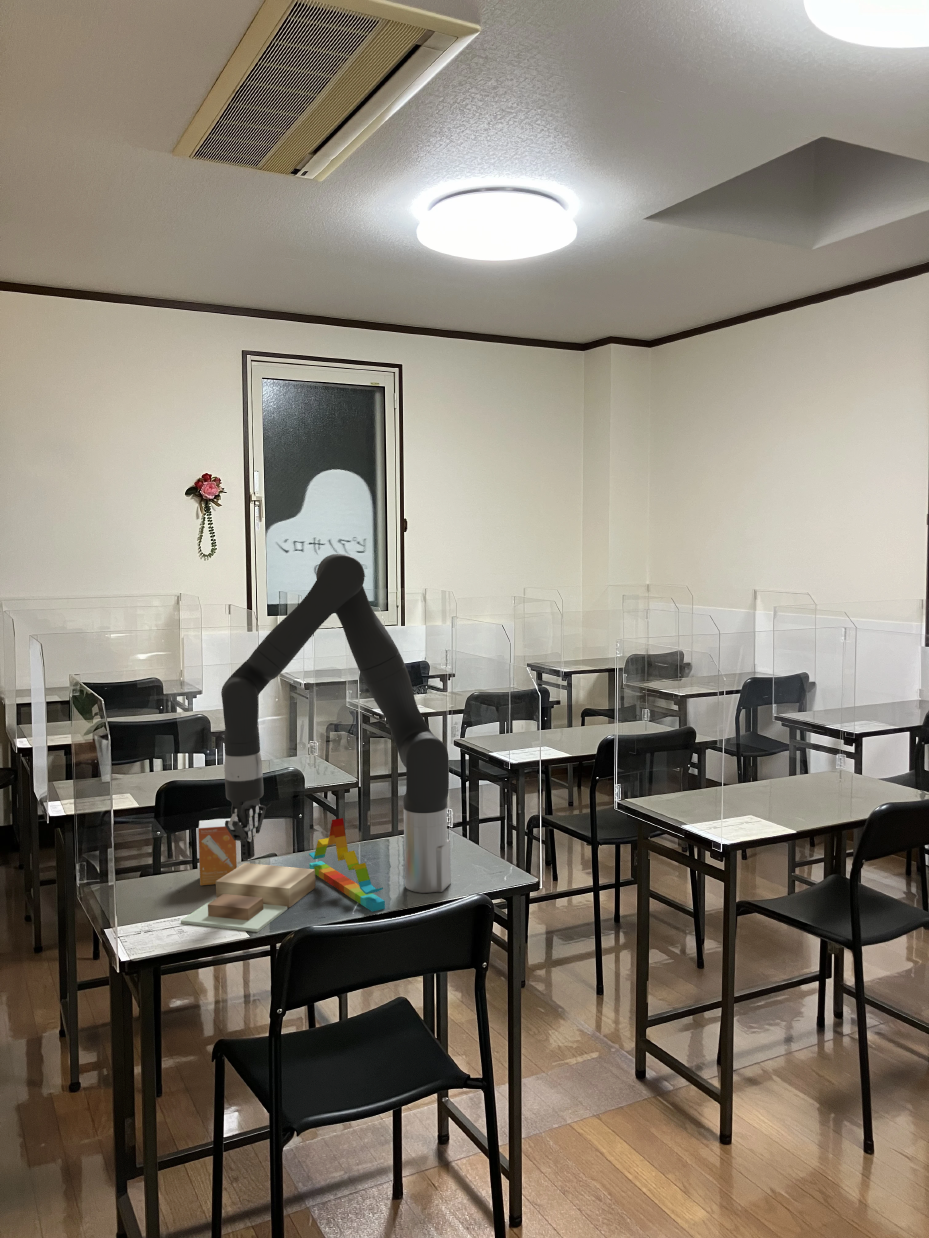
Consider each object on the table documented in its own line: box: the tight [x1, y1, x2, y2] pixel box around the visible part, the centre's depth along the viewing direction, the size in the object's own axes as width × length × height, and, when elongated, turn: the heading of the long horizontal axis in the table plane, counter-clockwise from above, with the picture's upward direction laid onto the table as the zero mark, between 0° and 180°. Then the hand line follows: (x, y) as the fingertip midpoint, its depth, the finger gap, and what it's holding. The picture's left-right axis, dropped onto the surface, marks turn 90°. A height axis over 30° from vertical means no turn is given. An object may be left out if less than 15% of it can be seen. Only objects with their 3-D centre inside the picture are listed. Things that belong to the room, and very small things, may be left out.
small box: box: [198, 817, 238, 886], centre depth 218 cm, size 8×6×13 cm
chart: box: [308, 817, 386, 913], centre depth 211 cm, size 30×3×15 cm, turn 33°
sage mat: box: [180, 898, 288, 933], centre depth 197 cm, size 17×12×1 cm
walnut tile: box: [208, 894, 263, 921], centre depth 197 cm, size 9×6×2 cm, turn 73°
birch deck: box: [215, 862, 316, 908], centre depth 209 cm, size 17×12×4 cm
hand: (248, 857), depth 202 cm, fingers closed
